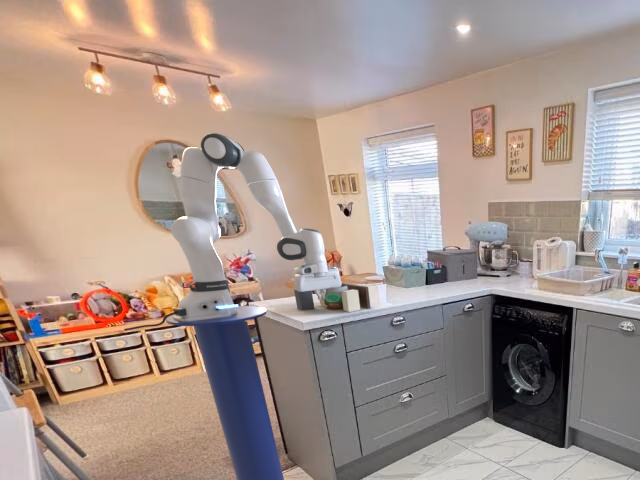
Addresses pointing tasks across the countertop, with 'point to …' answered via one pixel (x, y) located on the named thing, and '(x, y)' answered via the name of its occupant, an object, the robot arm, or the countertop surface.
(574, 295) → the countertop surface
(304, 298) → the grey block
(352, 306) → the cream block front
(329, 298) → the food container
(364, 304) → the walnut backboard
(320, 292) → the cream block back
